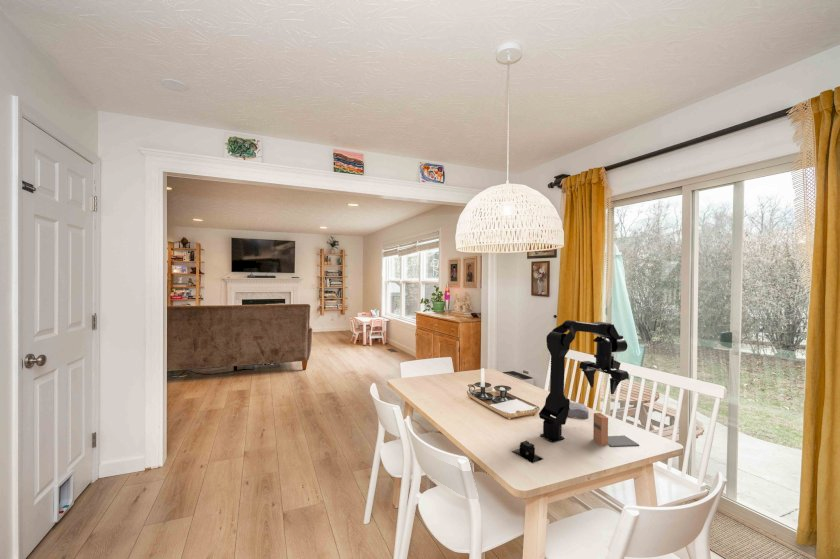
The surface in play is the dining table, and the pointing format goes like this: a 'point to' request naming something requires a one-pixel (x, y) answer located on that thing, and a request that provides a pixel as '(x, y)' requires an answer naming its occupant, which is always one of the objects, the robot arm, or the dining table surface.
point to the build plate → (527, 452)
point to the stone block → (578, 410)
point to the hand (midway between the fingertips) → (601, 390)
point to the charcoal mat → (620, 441)
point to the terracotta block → (600, 429)
